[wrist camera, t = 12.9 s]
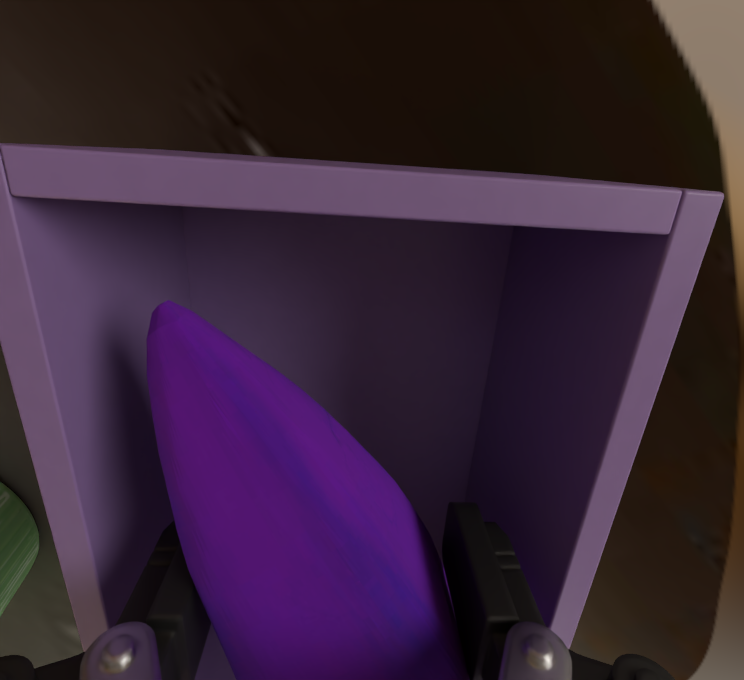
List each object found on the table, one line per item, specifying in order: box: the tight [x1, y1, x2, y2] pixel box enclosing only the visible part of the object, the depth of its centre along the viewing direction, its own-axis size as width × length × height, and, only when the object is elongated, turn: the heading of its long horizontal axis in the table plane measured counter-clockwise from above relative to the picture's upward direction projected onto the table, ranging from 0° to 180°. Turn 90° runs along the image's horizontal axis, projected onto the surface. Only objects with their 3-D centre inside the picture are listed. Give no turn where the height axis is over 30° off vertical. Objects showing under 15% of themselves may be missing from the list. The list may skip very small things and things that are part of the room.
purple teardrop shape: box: [146, 300, 469, 680], centre depth 11 cm, size 5×5×15 cm
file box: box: [0, 143, 724, 680], centre depth 15 cm, size 19×13×9 cm
